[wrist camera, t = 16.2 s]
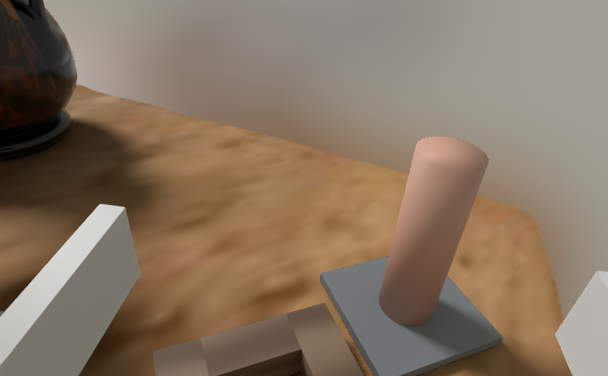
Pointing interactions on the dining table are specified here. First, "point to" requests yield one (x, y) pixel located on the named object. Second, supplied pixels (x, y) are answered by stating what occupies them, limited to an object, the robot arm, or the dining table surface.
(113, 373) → the dining table surface
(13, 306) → the robot arm
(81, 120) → the dining table surface
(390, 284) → the terracotta peg
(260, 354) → the walnut pocket block
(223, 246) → the dining table surface
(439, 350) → the slate mat
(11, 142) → the amphora vase
